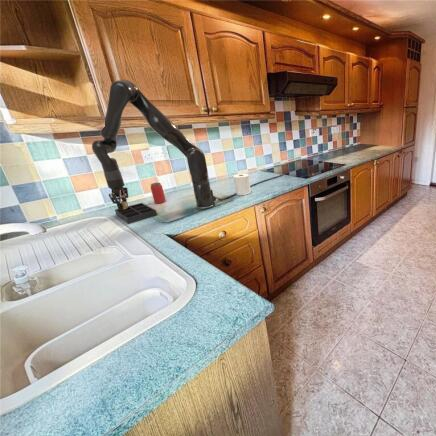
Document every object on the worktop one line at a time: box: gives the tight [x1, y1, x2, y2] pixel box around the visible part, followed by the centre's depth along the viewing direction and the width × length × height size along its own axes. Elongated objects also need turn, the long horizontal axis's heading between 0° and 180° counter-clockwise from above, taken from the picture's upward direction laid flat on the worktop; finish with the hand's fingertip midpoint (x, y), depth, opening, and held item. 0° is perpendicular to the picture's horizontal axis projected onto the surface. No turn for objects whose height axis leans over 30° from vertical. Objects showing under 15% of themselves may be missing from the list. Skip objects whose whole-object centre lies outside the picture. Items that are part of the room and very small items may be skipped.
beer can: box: [150, 182, 166, 204], centre depth 162 cm, size 7×7×12 cm
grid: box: [114, 202, 158, 225], centre depth 144 cm, size 14×21×3 cm
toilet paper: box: [233, 173, 252, 196], centre depth 171 cm, size 10×10×12 cm
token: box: [121, 201, 129, 210], centre depth 145 cm, size 4×4×4 cm
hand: (123, 207), depth 145 cm, fingers closed on token, 4 cm apart
